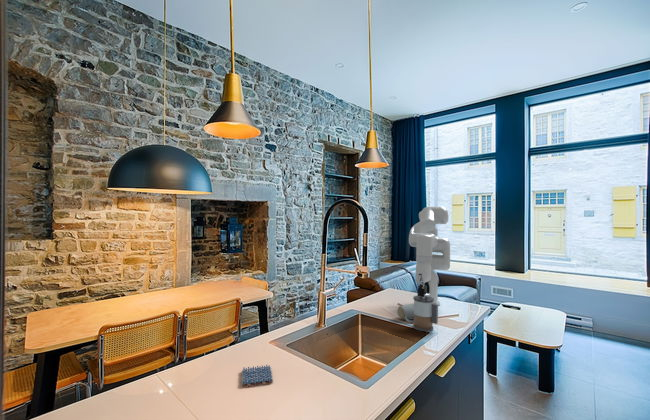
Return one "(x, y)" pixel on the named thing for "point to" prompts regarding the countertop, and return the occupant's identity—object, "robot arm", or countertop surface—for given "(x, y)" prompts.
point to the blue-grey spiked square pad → (254, 372)
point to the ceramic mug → (406, 312)
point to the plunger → (425, 292)
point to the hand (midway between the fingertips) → (423, 294)
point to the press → (425, 313)
